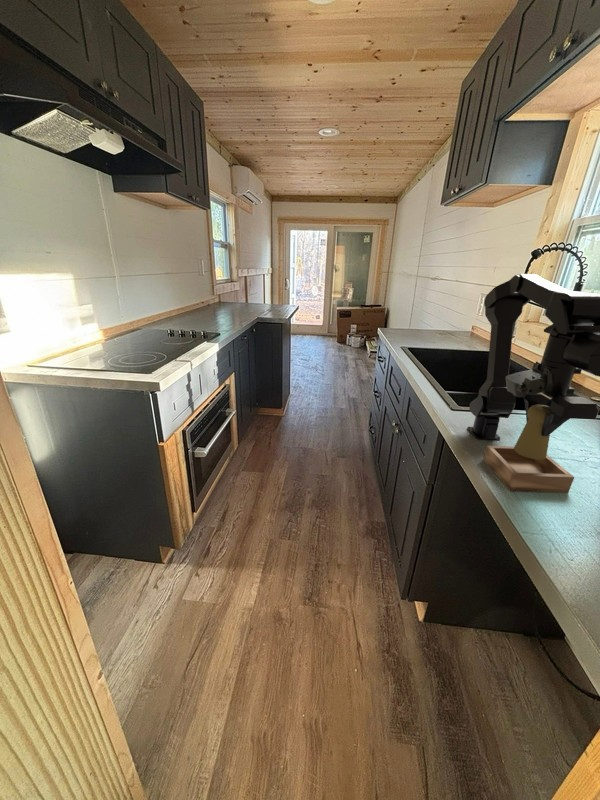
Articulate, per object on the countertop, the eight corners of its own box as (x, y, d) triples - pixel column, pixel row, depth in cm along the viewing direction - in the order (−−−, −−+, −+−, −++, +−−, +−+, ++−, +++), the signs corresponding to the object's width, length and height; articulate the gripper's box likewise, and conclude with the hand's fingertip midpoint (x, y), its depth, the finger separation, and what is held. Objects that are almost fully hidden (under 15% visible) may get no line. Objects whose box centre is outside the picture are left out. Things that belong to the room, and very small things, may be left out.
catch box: (483, 459, 80) (486, 445, 79) (533, 461, 80) (537, 447, 78) (510, 491, 69) (515, 475, 68) (568, 492, 69) (574, 477, 67)
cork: (516, 442, 76) (529, 399, 72) (547, 451, 73) (563, 406, 69) (511, 452, 72) (525, 407, 68) (544, 462, 68) (561, 415, 64)
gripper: (494, 347, 73) (478, 411, 79) (549, 374, 56) (524, 452, 62) (545, 348, 73) (525, 412, 79) (616, 375, 55) (584, 454, 62)
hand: (536, 430), depth 70 cm, fingers closed on cork, 5 cm apart
